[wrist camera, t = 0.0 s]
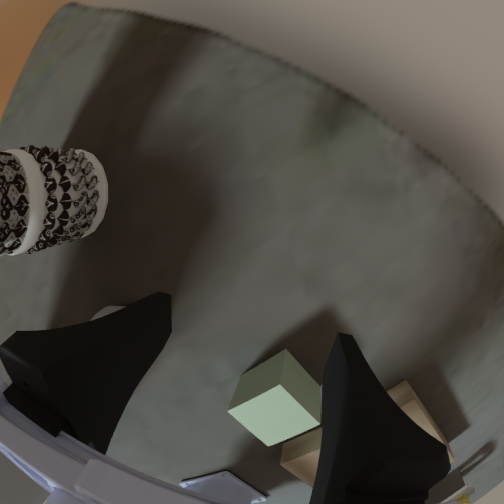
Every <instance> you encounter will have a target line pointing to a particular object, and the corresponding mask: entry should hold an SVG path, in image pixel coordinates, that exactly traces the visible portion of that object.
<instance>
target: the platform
mask: <svg viewBox="0 0 504 504" xmlns="http://www.w3.org/2000/svg"><path fill="white" fill-rule="evenodd" d="M428 492H429V498H428V499H427V500H425V504H438V503H444V502H449V501H455V500H456V501H457V502H458V504H461V503H462V502H464V503H463V504H470V502H469V499H468V498H469V497H470V496H472V495H473V494H474V493H475V492H474V486H473V484H467V485H465V484H464V481H463V478H462V475H461V473H460V470H459V468H457V469H456V470H454V471H453V472H452V473H450V474H449V475H448V476H446V477H445V478H444V479H442V480H441V481H440V482H438V483H437V484H436V485H434V486H433V487H432V488H430V489H429V490H428ZM460 496H461V497H460ZM459 497H460V498H459ZM458 498H459V499H458Z"/></svg>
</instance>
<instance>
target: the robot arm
mask: <svg viewBox="0 0 504 504" xmlns="http://www.w3.org/2000/svg"><path fill="white" fill-rule="evenodd" d="M171 332H172V322H171V295H170V294H166V293H162V292H156V293H154V294H152V295H149V296H147V297H145V298H143V299H141V300H139V301H137V302H135V303H133V304H131V305H128V306H126V307H124V308H122V309H120V310H117V311H115V312H112V313H110V314H108V315H105V316H103V317H100V318H97V319H94V320H91V321H88V322H85V323H81V324H77V325H72V326H68V327H63V328H57V329H50V330H39V331H16V332H15V333H14V334H13V335H12V336H10V337H9V338H8V339H7V340H6V341H5V342H4V343H2V344H1V345H0V358H1V361H2V363H3V365H4V367H5V369H6V371H7V373H8V375H9V377H10V379H11V381H12V383H11V384H10V385H9V386H8V385H7V384H6V383H5V381H4V380H2V379H1V378H0V451H1V452H2V453H3V454H4V455H5V456H6V457H7V458H8V459H10V460H11V461H12V462H13V463H14V464H15V465H16V466H17V467H19V468H20V469H21V470H22V471H23V472H24V473H26V474H27V475H28V476H29V477H30V478H32V479H33V480H34V481H35V482H37V483H38V484H39V485H41V486H42V487H43V488H44V489H46V490H47V491H49V492H50V493H51V495H50V496H49V498H48V499H47V501H46V502H45V504H253V503H257V502H262V501H266V500H267V497H266V496H264V495H262V494H261V493H259V492H258V491H256V490H255V489H253V488H252V487H250V486H249V485H247V484H246V483H244V482H243V481H241V480H240V479H239V478H237V477H236V476H234V475H233V474H231V473H230V472H228V471H223V472H220V473H216V474H212V475H208V476H204V477H200V478H195V479H191V480H186V481H181V482H180V485H181V486H182V487H184V488H181V487H178V486H175V485H172V484H170V483H167V482H164V481H161V480H159V479H156V478H154V477H151V476H149V475H146V474H144V473H142V472H139V471H137V470H135V469H133V468H130V467H128V466H126V465H124V464H122V463H120V462H117V461H115V460H113V459H111V458H109V457H107V456H105V454H106V451H107V449H108V446H109V443H110V441H111V438H112V436H113V433H114V431H115V429H116V426H117V424H118V422H119V420H120V417H121V415H122V413H123V411H124V409H125V407H126V405H127V403H128V401H129V399H130V397H131V395H132V394H133V392H134V390H135V388H136V387H137V385H138V384H139V382H140V381H141V379H142V378H143V376H144V375H145V374H146V372H147V371H148V369H149V368H150V367H151V365H152V364H153V362H154V361H155V360H156V358H157V357H158V355H159V354H160V352H161V351H162V349H163V348H164V346H165V344H166V342H167V340H168V338H169V336H170V334H171ZM450 469H451V465H450V459H449V454H448V450H447V447H446V445H445V444H443V443H442V442H440V441H439V440H437V439H436V438H434V437H433V436H431V435H430V434H429V433H427V432H426V431H425V430H424V429H422V428H421V427H420V426H419V425H417V424H416V423H415V422H414V421H413V420H412V419H411V418H410V417H409V416H408V415H407V414H406V413H405V412H404V411H403V410H402V409H401V408H400V407H399V406H398V405H397V404H396V403H395V401H394V400H393V399H392V398H391V397H390V395H389V394H388V393H387V392H386V390H385V389H384V388H383V386H382V385H381V383H380V382H379V380H378V379H377V378H376V376H375V375H374V373H373V371H372V370H371V368H370V366H369V365H368V363H367V361H366V359H365V358H364V356H363V354H362V352H361V350H360V349H359V347H358V345H357V343H356V341H355V339H354V338H353V336H352V335H349V334H344V333H338V334H337V337H336V340H335V342H334V345H333V348H332V350H331V353H330V355H329V358H328V361H327V363H326V366H325V369H324V378H323V386H322V440H321V447H320V454H319V460H318V466H317V471H316V476H315V481H314V486H313V490H312V495H311V499H310V502H309V504H425V500H427V499H428V498H429V492H428V490H429V489H430V488H432V487H433V486H434V485H436V484H437V483H438V482H439V481H441V480H442V479H443V478H444V477H445V476H446V475H447V474H448V472H449V471H450ZM438 504H458V502H457V501H456V500H455V501H449V502H444V503H438Z"/></svg>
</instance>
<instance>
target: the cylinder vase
mask: <svg viewBox="0 0 504 504" xmlns="http://www.w3.org/2000/svg"><path fill="white" fill-rule="evenodd" d="M2 380H4V381H5V383H6V384H7V385H8V386H9V385H10V384H11V383H12V381H11V379H10V377H9V375H7V376H6V377H5V378H3V379H2ZM50 495H51V493H50V492H49V491H47V490H46V489H44V488H43V487H42V486H41V485H39V484H38V483H37V482H35V481H34V480H33V479H32V478H30V477H29V476H28V475H27V474H26V473H24V472H23V471H22V470H21V469H20V468H19V467H17V466H16V465H15V464H14V463H13V462H12V461H11V460H10V459H8V458H7V457H6V456H5V455H4V454H3V453H2V452H1V451H0V504H43V503H44V502H45V501H46V499H47V498H48V497H49V496H50Z"/></svg>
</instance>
